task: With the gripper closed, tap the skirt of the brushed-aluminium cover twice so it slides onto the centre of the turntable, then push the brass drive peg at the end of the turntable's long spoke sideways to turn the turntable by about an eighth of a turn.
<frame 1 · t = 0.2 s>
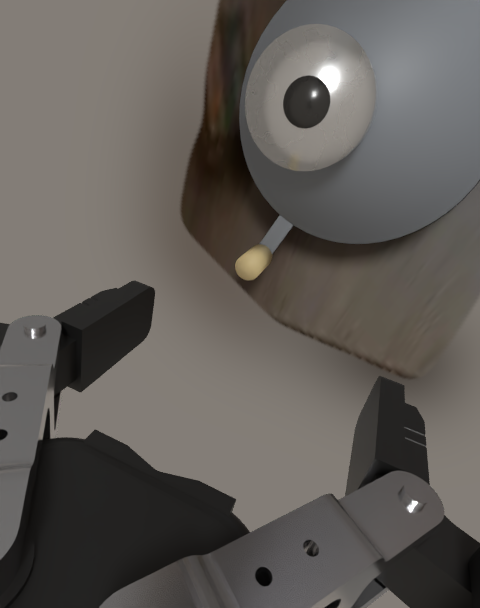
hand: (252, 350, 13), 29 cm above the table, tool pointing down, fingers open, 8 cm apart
cover: (313, 104, 33), point 3 cm above the table, touching turntable
turntable: (349, 148, 32), point 4 cm above the table, hinge at 0.0°, touching cover
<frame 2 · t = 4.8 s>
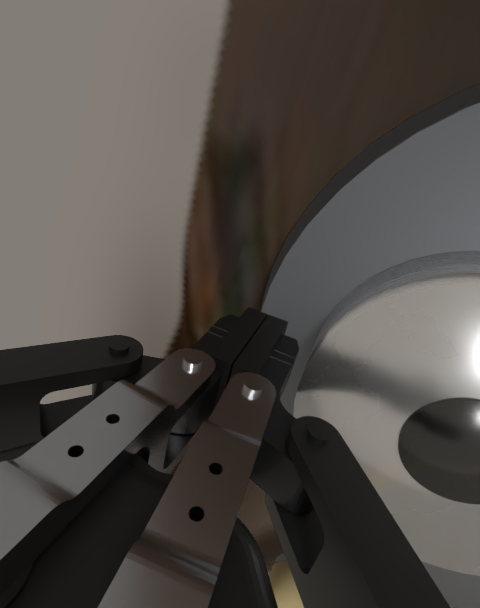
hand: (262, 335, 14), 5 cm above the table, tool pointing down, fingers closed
cover: (454, 390, 14), point 3 cm above the table, touching gripper, turntable
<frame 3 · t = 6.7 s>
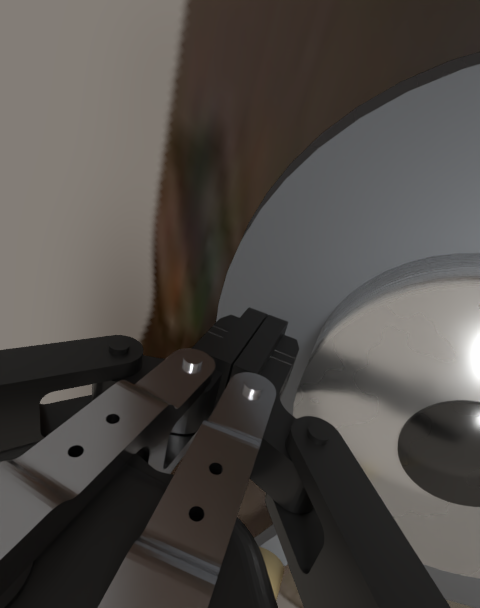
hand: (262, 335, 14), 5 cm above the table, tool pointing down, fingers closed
cover: (454, 392, 14), point 3 cm above the table, touching gripper, turntable
turntable: (469, 475, 14), point 4 cm above the table, hinge at 0.0°, touching cover
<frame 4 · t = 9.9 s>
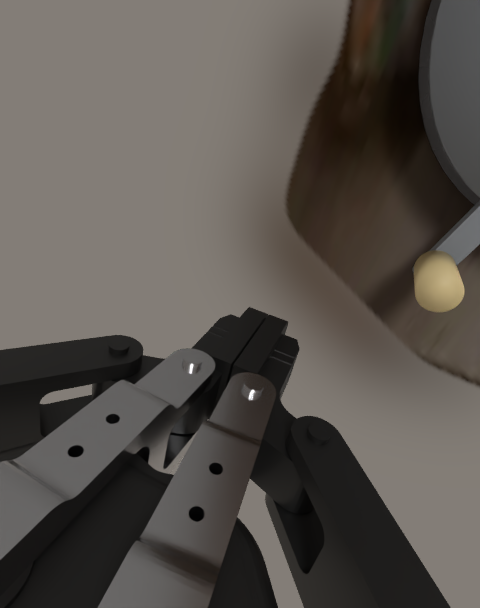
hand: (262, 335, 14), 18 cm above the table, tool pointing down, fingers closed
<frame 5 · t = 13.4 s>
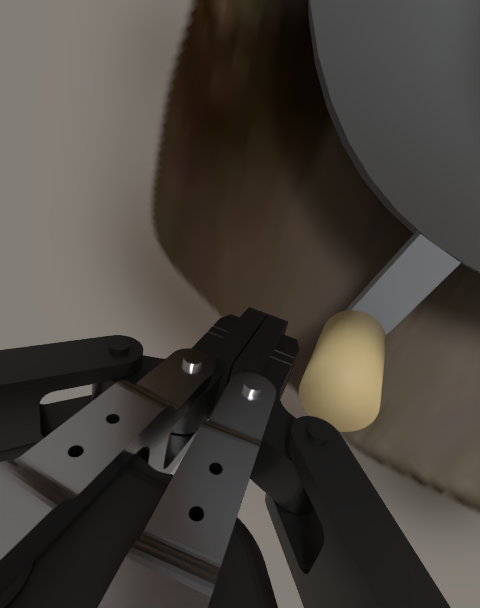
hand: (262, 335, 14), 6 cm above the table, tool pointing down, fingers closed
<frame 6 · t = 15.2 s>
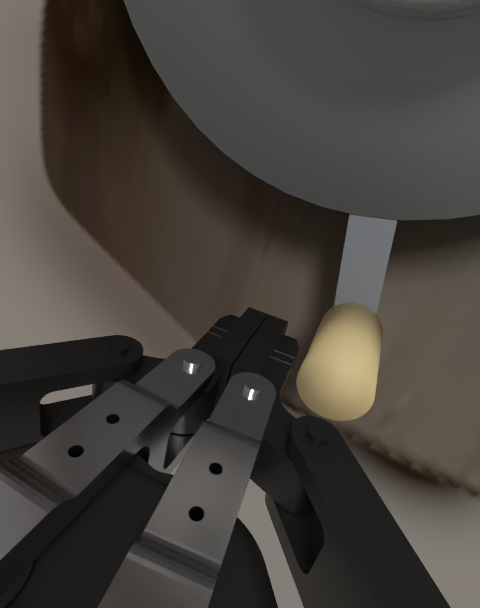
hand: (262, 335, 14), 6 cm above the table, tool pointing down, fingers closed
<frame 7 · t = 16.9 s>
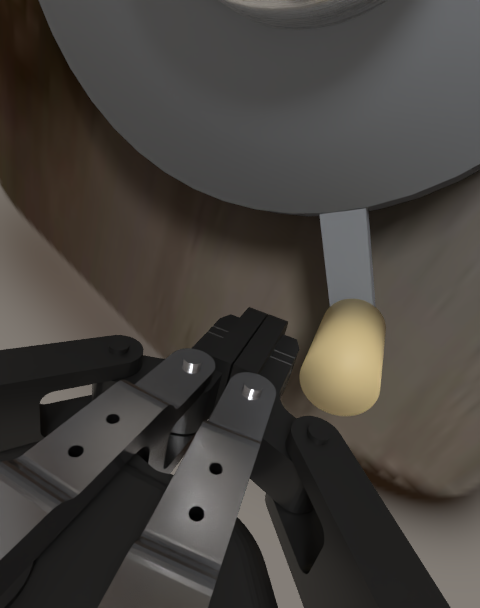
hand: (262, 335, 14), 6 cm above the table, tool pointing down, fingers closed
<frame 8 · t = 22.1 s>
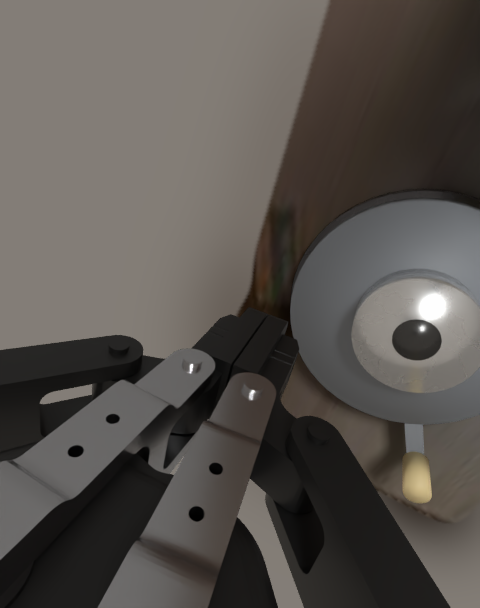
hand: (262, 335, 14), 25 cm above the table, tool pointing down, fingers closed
turntable base: (407, 309, 37), on the table
cover: (414, 323, 34), point 3 cm above the table, touching turntable
turntable: (420, 353, 34), point 4 cm above the table, hinge at 44.6°, touching cover
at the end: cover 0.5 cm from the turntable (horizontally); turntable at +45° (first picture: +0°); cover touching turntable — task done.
